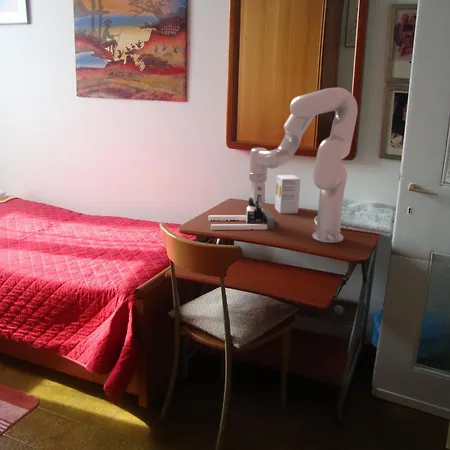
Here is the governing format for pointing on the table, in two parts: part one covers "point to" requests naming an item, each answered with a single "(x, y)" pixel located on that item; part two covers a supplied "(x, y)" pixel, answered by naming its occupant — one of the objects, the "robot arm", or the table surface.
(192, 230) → the table surface
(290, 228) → the table surface
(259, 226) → the guide rails
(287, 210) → the supplement box
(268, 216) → the end stop
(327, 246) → the table surface
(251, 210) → the medicine bottle
